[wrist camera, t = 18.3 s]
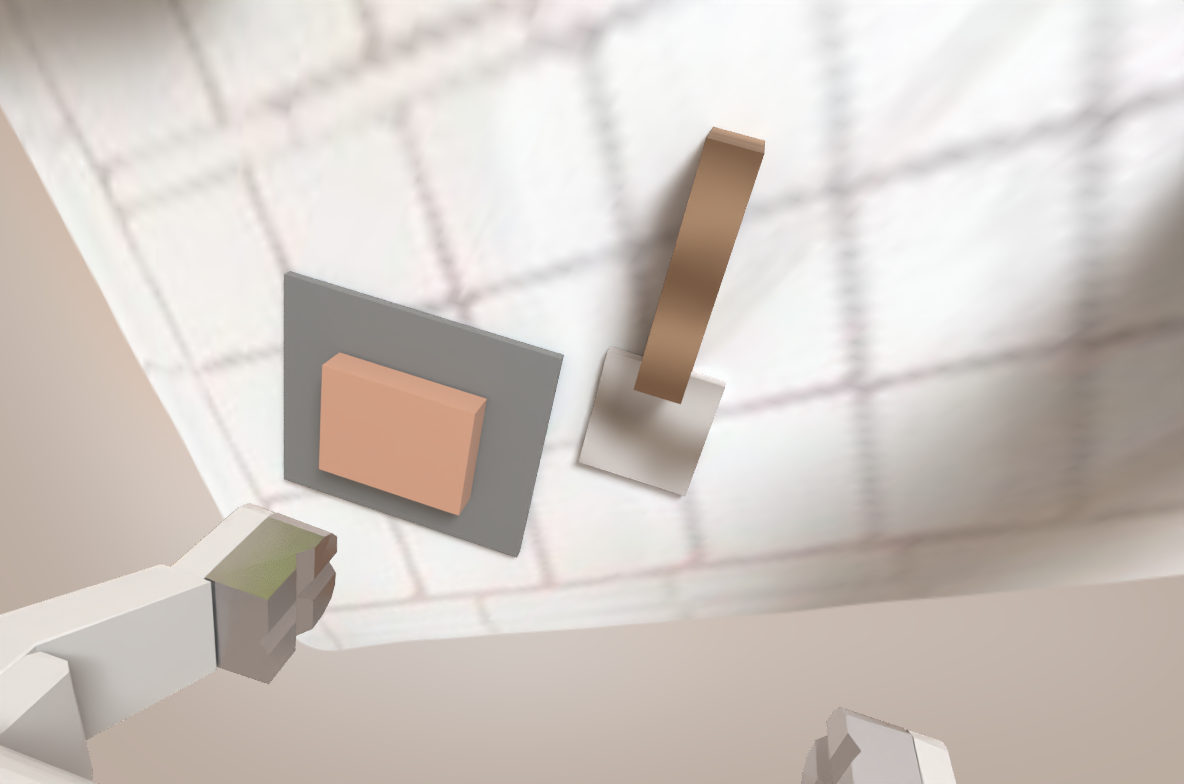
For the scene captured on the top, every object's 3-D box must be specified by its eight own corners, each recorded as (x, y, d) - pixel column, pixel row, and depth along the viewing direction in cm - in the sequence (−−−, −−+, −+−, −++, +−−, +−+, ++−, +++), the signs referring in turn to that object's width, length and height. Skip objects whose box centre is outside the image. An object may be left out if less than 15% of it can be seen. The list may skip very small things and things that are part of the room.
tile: (475, 413, 42) (458, 515, 45) (487, 397, 43) (471, 496, 47) (322, 365, 43) (318, 468, 46) (340, 351, 44) (336, 452, 48)
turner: (670, 115, 34) (658, 124, 31) (808, 152, 34) (814, 166, 30) (581, 455, 45) (564, 494, 41) (686, 489, 44) (678, 531, 40)
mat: (563, 355, 42) (561, 359, 41) (519, 552, 49) (516, 557, 49) (290, 271, 43) (283, 274, 43) (288, 474, 51) (284, 478, 51)
